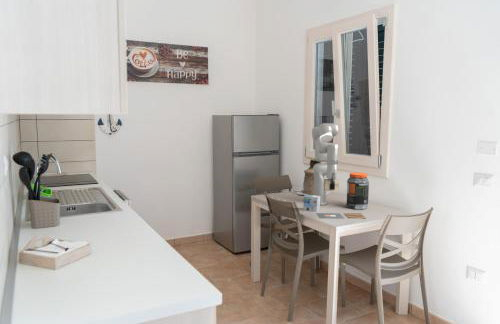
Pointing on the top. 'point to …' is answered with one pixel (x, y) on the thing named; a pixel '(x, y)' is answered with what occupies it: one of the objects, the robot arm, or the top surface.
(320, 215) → the mat
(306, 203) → the light bulb box
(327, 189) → the birch block
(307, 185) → the burlap sack
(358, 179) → the supplement tub
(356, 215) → the walnut pad
